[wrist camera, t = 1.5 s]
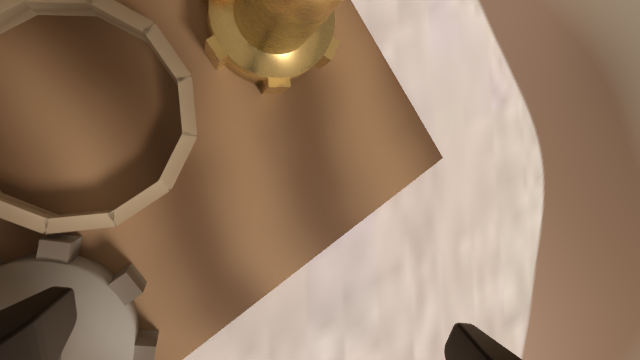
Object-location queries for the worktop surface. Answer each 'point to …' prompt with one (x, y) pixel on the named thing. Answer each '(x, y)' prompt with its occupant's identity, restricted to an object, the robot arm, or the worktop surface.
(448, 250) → the worktop surface
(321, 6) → the gear shaft
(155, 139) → the gear board
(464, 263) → the worktop surface
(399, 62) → the worktop surface
